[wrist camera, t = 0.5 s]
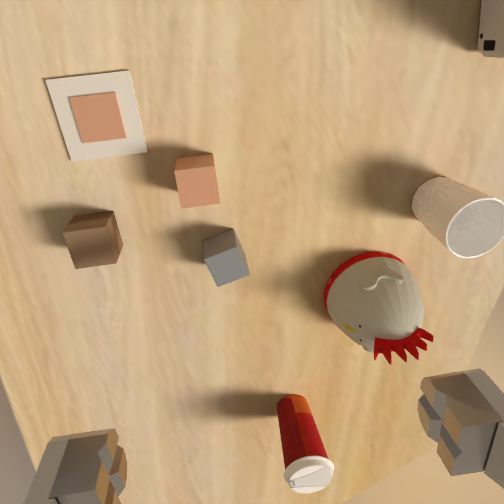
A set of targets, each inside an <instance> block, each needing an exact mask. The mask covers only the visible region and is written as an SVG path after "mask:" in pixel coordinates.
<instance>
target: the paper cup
mask: <svg viewBox="0 0 504 504" xmlns="http://www.w3.org/2000/svg"><path fill="white" fill-rule="evenodd" d="M277 411H278V420H279V427H280V435H281V442H282V449H283V456H284V464H285V473H284V478H285V480H286V482H287V483H288V484H289V485H290V488H291V489H292V490H294V491H296V492H299V493H313V492H316V491H319V490H321V489H323V488H325V487H326V486H327V485H328V484H329V483H330V481H331V479H332V476H333V470H334V465H333V462H331V461H330V460H329V459H328V457H327V454H326V451H325V448H324V446H323V443H322V440H321V438H320V435H319V432H318V429H317V427H316V424H315V421H314V419H313V416H312V413H311V411H310V408H309V406H308V403H307V401H306V399H305V398H304V397H302V396H300V395H289V396H286V397H284V398H283V399H281V400H280V401H279V403H278V405H277Z"/></svg>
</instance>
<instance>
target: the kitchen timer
mask: <svg viewBox="0 0 504 504" xmlns="http://www.w3.org/2000/svg"><path fill="white" fill-rule="evenodd" d="M324 301H325V307H326V309H327V311H328V313H329V315H330V317H331V319H332V320H333V322H334V323H335V325H336V326H337V327H338V328H339V329H341V330H342V331H343V332H344V333H345V334H346V335H347V336H348V337H350V338H351V339H352V340H353V341H354V342H356V343H357V344H359V345H361V346H363V348H364V349H365V350H366V351H369V352H374V360H376V358H377V356H378V354H379V353H383V355H384V356H385V358H386V360H387V361H388V363H389V364H391V352H396V353H397V354H398V355H399V356H400V357H401V358H402V359H403V360H404V361H405V362H407V355H406V353H405V351H404V349H406V350H407V351H408V352H409V353H410V354H411V355H413V356H414V357H415V358H416V359H417V360H418V359H419V353H418V351H417V348H416V346H417V347H419V348H421V349H423V350H425V351H427V344H426V343H425V342H424V341H423V340H421V339H420V338H424V339H426V340H429V341H431V342H433V335H431V334H430V333H428V332H427V331H425V330H423V329H421V327H422V324H423V314H424V305H423V300H422V296H421V293H420V290H419V287H418V284H417V281H416V279H415V277H414V275H413V273H412V272H411V271H410V269H409V268H408V267H407V266H406V265H405V264H404V263H403V262H402V261H401V259H399V258H397V257H395V256H394V255H392V254H389V253H383V252H369V253H363V254H361V255H358V256H355V257H352V258H351V259H349V260H348V261H346V262H344V263H343V264H341V265H340V266H339V267H338V268H337V269H336V270H335V271H334V273H333V274H332V275H331V277H330V279H329V280H328V282H327V284H326V288H325V292H324Z"/></svg>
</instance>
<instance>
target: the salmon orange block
mask: <svg viewBox="0 0 504 504" xmlns="http://www.w3.org/2000/svg"><path fill="white" fill-rule="evenodd" d="M174 173H175V178H176V183H177V188H178V194H179V199H180V204H181V208H189V207H196V206H204V205H211V204H219V203H220V201H219V193H218V185H217V178H216V171H215V164H214V157H213V154H206V155H198V156H190V157H182V158H177V159H176V164H175V169H174Z"/></svg>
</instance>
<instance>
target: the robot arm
mask: <svg viewBox="0 0 504 504" xmlns="http://www.w3.org/2000/svg"><path fill="white" fill-rule="evenodd" d="M420 388H421V390H422V392H423V393H424V394H423V395H422V397H421V398H420V399H419V400H418V413H419V418H420V421H421V424H422V426H423V428H424V430H425V432H426V434H427V436H428V437H430V438H431V439H433V440H434V441H436V442H437V443H438V447H437V453H438V455H439V456H440V458H441V460H442V462H443V463H444V465H445V467H446V468H447V470H448V472H449V473H450V475H451V476H455V475H461V474H468V473H475V472H482V471H485V472H484V473H485V474H486V475H487V476H488V477H490V478H491V479H492V480H494V481H495V482H496V483H498V484H499V485H500V486H501V487H503V488H504V393H503V392H502V391H501V390H500V389H499V388H498V387H497V385H496V384H495V383H494V382H493V381H492V380H491V378H490V377H489V376H488V375H487V374H486V373H485V372H484V371H483V370H481V369H474V370H467V371H461V372H453V373H447V374H441V375H436V376H430V377H424V378H423V380H422V381H421V386H420ZM117 442H118V435H117V432H116V430H115V429H106V430H99V431H91V432H84V433H76V434H70V435H63V436H57V437H52V439H51V440H50V441H49V442H48V444H47V446H46V449H45V451H44V454H43V457H42V459H41V462H40V464H39V467H38V469H37V472H36V474H35V477H34V480H33V482H32V485H31V487H30V490H29V492H28V495H27V498H26V500H25V503H23V504H121V503H120V500H119V498H118V496H119V495H120V493H121V492H122V491H123V489H124V488H125V485H126V478H127V461H126V455H125V452H124V449H123V448H122V447H120V446H118V445H117Z"/></svg>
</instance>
